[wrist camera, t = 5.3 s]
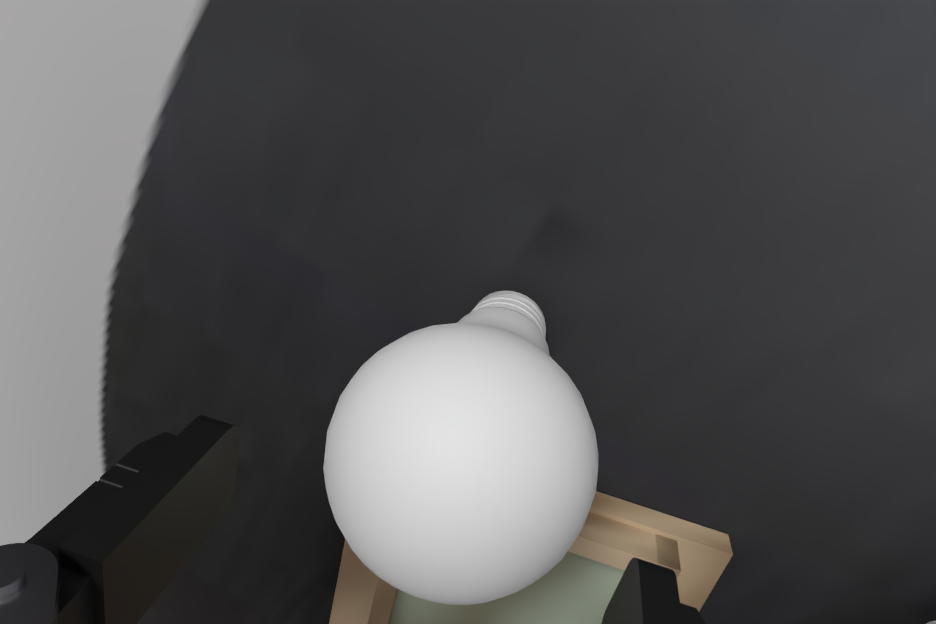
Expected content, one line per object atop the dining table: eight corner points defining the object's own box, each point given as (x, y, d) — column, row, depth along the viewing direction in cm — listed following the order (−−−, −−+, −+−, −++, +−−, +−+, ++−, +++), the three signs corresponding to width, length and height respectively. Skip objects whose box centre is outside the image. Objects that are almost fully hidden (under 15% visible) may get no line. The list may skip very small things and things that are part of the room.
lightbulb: (520, 422, 23) (450, 714, 13) (393, 316, 22) (218, 540, 12) (642, 314, 20) (672, 579, 10) (501, 191, 19) (389, 347, 10)
